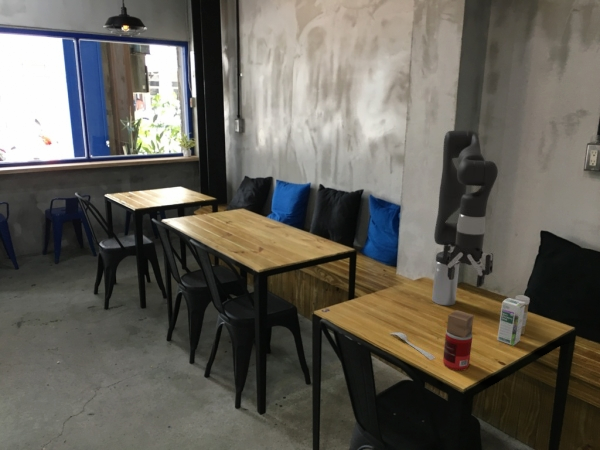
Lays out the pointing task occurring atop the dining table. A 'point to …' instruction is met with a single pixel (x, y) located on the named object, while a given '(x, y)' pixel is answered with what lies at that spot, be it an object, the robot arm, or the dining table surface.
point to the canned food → (457, 351)
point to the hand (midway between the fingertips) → (464, 282)
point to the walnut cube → (460, 323)
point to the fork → (414, 346)
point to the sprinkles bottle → (526, 300)
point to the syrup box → (511, 321)
